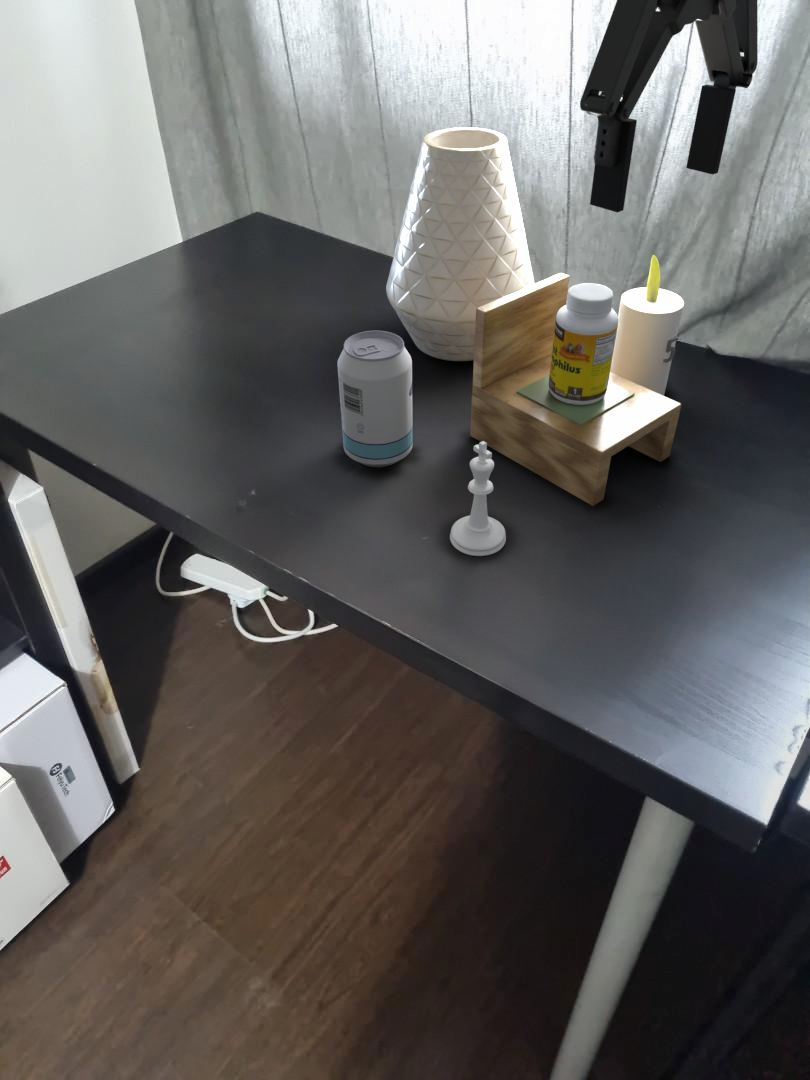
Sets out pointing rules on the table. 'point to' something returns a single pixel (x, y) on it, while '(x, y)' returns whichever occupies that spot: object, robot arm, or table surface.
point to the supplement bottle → (583, 345)
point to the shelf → (555, 399)
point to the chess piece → (479, 512)
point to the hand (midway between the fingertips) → (656, 188)
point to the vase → (457, 240)
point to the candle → (647, 333)
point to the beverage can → (376, 398)
